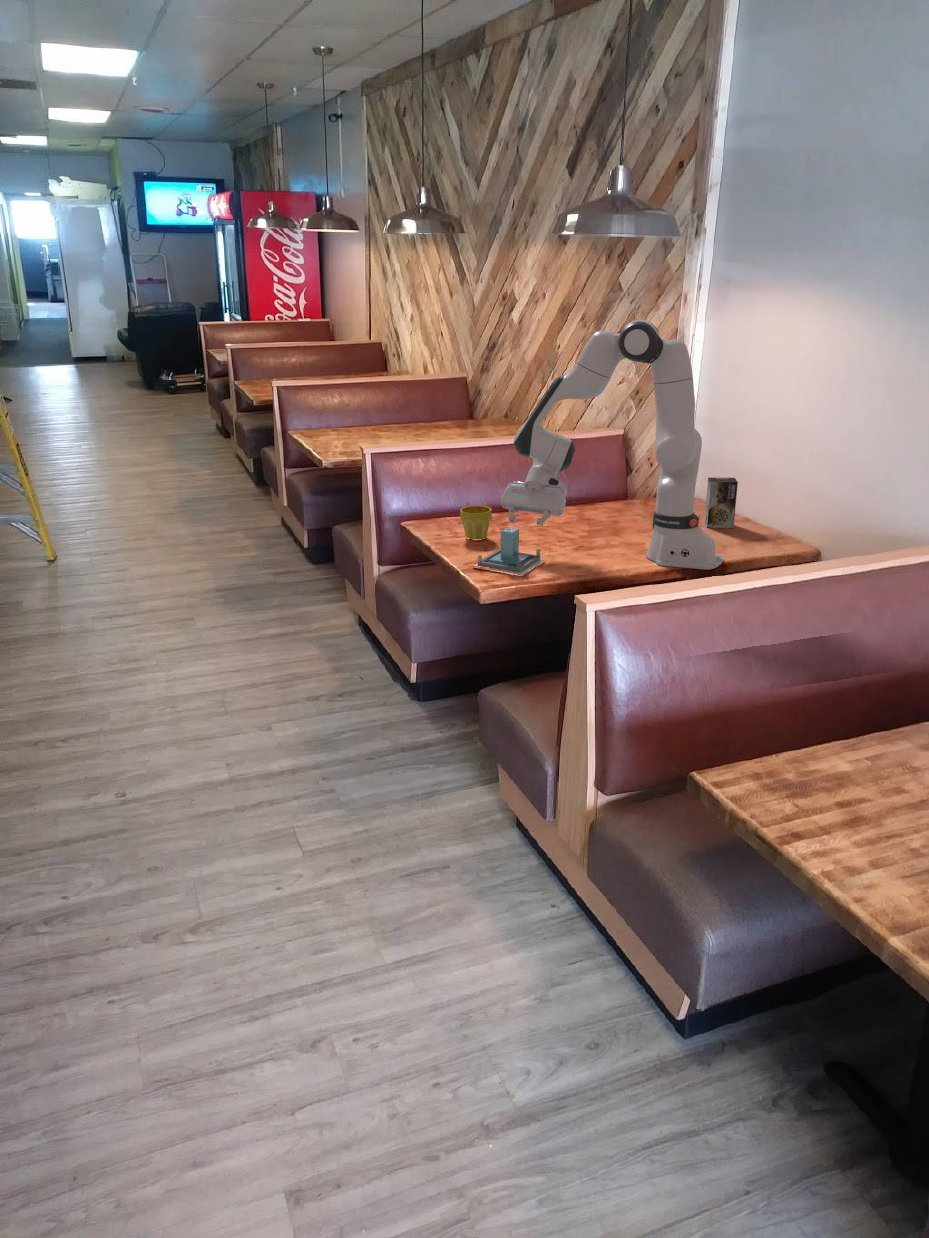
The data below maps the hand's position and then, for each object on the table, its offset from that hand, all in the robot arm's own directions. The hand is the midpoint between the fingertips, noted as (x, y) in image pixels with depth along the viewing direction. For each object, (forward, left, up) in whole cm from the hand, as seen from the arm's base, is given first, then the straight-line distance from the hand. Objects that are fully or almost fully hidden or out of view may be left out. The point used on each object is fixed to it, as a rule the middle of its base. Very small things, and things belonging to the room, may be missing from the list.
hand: (525, 522), depth 275 cm
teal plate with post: (0, +10, -10) cm, 14 cm away
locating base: (0, +10, -10) cm, 15 cm away
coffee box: (-44, -62, -11) cm, 76 cm away
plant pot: (+22, -10, -11) cm, 26 cm away
